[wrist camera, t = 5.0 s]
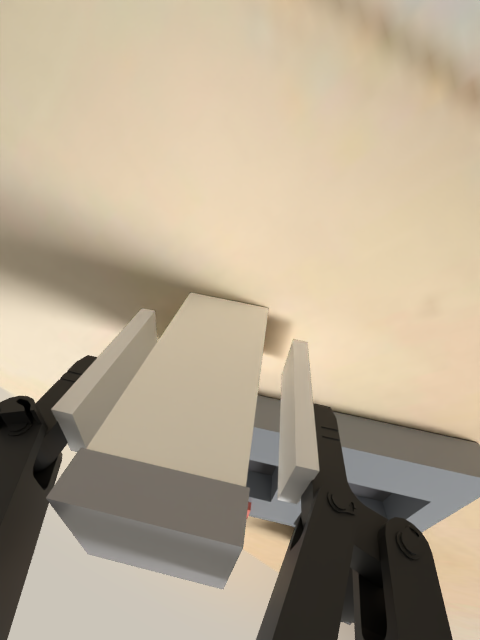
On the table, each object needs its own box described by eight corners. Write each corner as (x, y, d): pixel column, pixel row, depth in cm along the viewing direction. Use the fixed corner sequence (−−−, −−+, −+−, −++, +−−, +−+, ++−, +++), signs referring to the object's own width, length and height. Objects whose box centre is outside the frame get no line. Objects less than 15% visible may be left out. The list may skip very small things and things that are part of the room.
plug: (188, 290, 14) (45, 497, 6) (270, 306, 14) (243, 547, 6) (187, 351, 17) (87, 554, 9) (256, 366, 17) (222, 589, 8)
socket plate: (190, 380, 18) (175, 418, 16) (478, 443, 17) (510, 494, 15) (187, 471, 26) (177, 506, 24) (383, 517, 25) (394, 559, 23)
